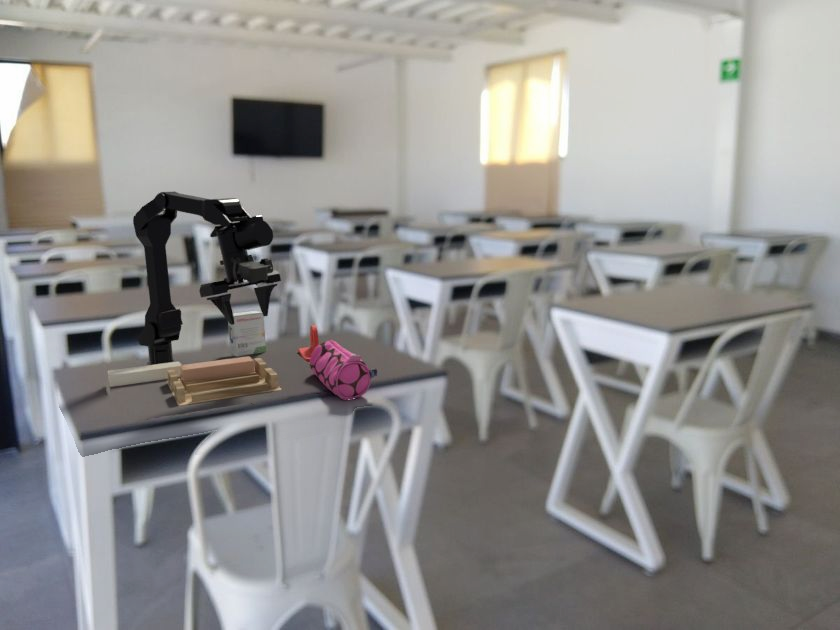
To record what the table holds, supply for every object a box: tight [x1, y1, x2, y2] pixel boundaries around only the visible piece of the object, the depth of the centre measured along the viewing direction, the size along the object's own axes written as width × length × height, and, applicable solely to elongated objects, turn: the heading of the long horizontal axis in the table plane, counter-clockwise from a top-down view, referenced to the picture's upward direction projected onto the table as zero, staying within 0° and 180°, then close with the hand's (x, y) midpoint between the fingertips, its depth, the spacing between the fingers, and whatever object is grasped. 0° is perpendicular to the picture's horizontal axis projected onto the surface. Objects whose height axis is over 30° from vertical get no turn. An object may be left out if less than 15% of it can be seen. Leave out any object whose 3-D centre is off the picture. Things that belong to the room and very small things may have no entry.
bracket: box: [298, 324, 319, 363], centre depth 186 cm, size 12×4×8 cm, turn 17°
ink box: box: [227, 310, 267, 358], centre depth 187 cm, size 9×5×12 cm, turn 123°
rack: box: [165, 357, 283, 407], centre depth 159 cm, size 20×22×4 cm
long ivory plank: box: [107, 361, 182, 390], centre depth 165 cm, size 4×16×4 cm, turn 117°
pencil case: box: [309, 339, 378, 401], centre depth 159 cm, size 21×10×10 cm, turn 27°
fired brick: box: [180, 355, 255, 387], centre depth 164 cm, size 4×16×4 cm, turn 116°
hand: (249, 320), depth 161 cm, fingers open, 9 cm apart
